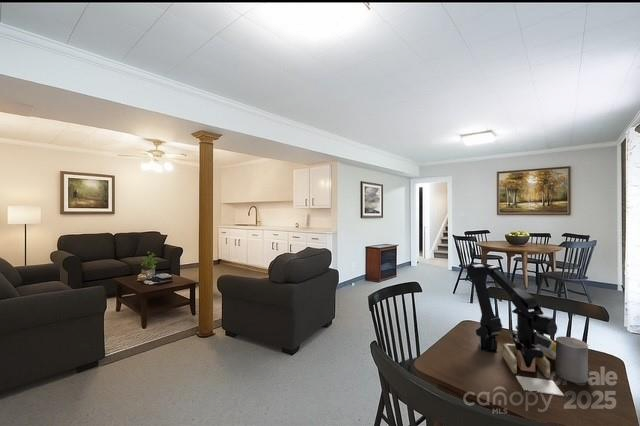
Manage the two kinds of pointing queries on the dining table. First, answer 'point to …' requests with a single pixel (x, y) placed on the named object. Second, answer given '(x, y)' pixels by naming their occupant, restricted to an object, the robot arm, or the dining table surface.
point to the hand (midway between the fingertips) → (525, 364)
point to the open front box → (511, 360)
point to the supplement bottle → (548, 349)
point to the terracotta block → (522, 364)
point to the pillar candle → (572, 359)
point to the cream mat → (539, 385)
